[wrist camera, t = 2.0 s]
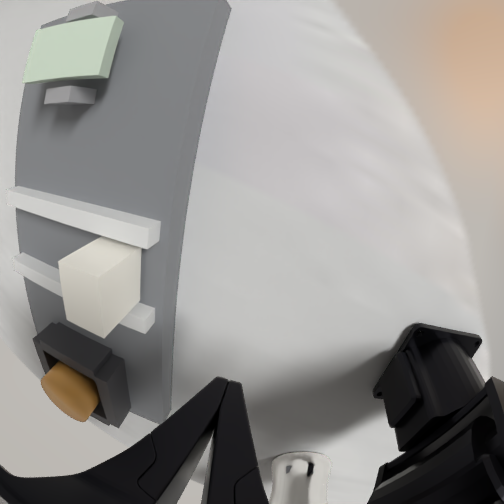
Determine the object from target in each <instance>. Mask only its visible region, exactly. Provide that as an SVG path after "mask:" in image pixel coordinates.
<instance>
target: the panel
mask: <svg viewBox="0 0 504 504" xmlns="http://www.w3.org/2000/svg"><path fill="white" fill-rule="evenodd" d="M230 11H231V7H230V6H229V4H228V2H227V0H125V1H120V2H116V3H111V4H107V5H104V4H102V3H100V2H98V1H95V2H92V3H88V4H85V5H82V6H79V7H76V8H73V9H70V11H69V13H68V16H66V17H63V18H60V19H57V20H54V21H52V22H49V23H47V24H44V25H42V26H41V28H40V29H43V28H47V27H51V26H55V25H59V24H64V23H69V22H74V21H79V20H85V19H92V18H99V17H107V16H117V17H119V18H120V19H121V20H122V21H123V22H124V24H123V27H122V30H121V33H120V37H119V40H118V43H117V47H116V50H115V54H114V57H113V61H112V65H111V69H110V73H109V77H108V78H97V79H77V80H65V81H55V82H46V83H39V84H26V83H25V87H24V92H23V98H22V104H21V110H20V117H19V125H18V135H17V146H16V165H15V187H13V188H10V189H6V204H7V205H10V206H13V207H16V220H17V232H18V242H19V250H20V254H19V255H17V256H15V257H13V258H12V261H13V267H14V271H16V272H17V273H19V274H21V275H23V276H24V281H25V286H26V291H27V296H28V300H29V304H30V309H31V313H32V316H33V320H34V324H35V327H36V331H37V334H38V335H37V336H35V337H34V338H33V341H34V344H35V347H36V350H37V353H38V356H39V359H40V361H41V364H42V367H43V369H44V372H45V374H47V373H48V372H49V371H50V370H51V368H52V367H53V366H54V365H55V364H56V363H57V362H58V361H59V360H60V361H61V362H63V363H65V364H66V365H68V366H70V367H71V368H73V369H75V370H77V371H78V372H80V373H82V374H84V375H85V376H87V377H89V378H91V379H93V380H94V382H95V383H96V385H97V389H98V392H99V396H100V399H101V401H100V402H99V403H98V405H97V406H96V408H95V409H94V410H93V412H92V413H91V415H90V416H92V417H94V418H95V419H97V420H99V421H101V422H103V423H105V424H107V425H110V424H111V425H113V426H115V427H117V428H119V427H120V425H121V424H122V422H123V420H124V419H125V417H126V415H127V414H128V412H129V411H130V412H132V413H134V414H137V415H139V416H141V417H143V418H146V419H148V420H151V421H153V422H155V423H158V424H162V423H163V422H164V421H165V420H166V419H167V416H168V414H169V412H170V410H171V388H172V360H173V341H174V326H175V312H176V300H177V289H178V279H179V269H180V260H181V251H182V243H183V235H184V228H185V220H186V213H187V206H188V200H189V193H190V187H191V181H192V175H193V169H194V163H195V158H196V152H197V147H198V142H199V136H200V131H201V126H202V122H203V117H204V112H205V107H206V103H207V98H208V94H209V90H210V85H211V81H212V77H213V73H214V69H215V65H216V61H217V57H218V53H219V50H220V46H221V42H222V39H223V35H224V32H225V28H226V25H227V21H228V18H229V15H230ZM101 236H105V237H108V238H111V239H114V240H118V241H121V242H124V243H127V244H131V245H134V246H137V247H141V248H142V251H141V276H140V301H139V302H138V303H137V304H136V305H135V306H134V307H133V308H132V309H131V311H130V312H129V313H128V314H127V315H126V316H125V317H124V318H123V319H122V320H121V321H120V322H119V323H118V324H117V325H116V326H115V328H114V329H113V330H112V331H111V332H110V333H109V334H108V335H107V336H106V337H105V338H102V337H100V336H98V335H96V334H94V333H92V332H90V331H88V330H86V329H84V328H82V327H80V326H78V325H76V324H74V323H72V322H70V321H68V320H67V318H66V313H65V307H64V302H63V295H62V289H61V281H60V274H59V265H58V261H59V260H61V259H63V258H64V257H66V256H68V255H69V254H71V253H73V252H75V251H76V250H78V249H80V248H82V247H83V246H85V245H87V244H89V243H90V242H92V241H94V240H96V239H98V238H100V237H101Z"/></svg>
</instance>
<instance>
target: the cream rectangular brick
mask: <svg viewBox="0 0 504 504" xmlns="http://www.w3.org/2000/svg"><path fill="white" fill-rule="evenodd" d="M141 251H142V248H141V247H137V246H134V245H131V244H127V243H124V242H121V241H118V240H114V239H111V238H108V237H105V236H101V237H100V238H98V239H96V240H94V241H92V242H90V243H89V244H87V245H85V246H83V247H82V248H80V249H78V250H76V251H75V252H73V253H71V254H69V255H68V256H66V257H64V258H63V259H61V260H59V261H58V265H59V274H60V281H61V289H62V295H63V302H64V307H65V313H66V318H67V320H68V321H70V322H72V323H74V324H76V325H78V326H80V327H82V328H84V329H86V330H88V331H90V332H92V333H94V334H96V335H98V336H100V337H102V338H105V337H106V336H107V335H108V334H109V333H110V332H111V331H112V330H113V329H114V328H115V326H116V325H117V324H118V323H119V322H120V321H121V320H122V319H123V318H124V317H125V316H126V315H127V314H128V313H129V312H130V311H131V309H132V308H133V307H134V306H135V305H136V304H137V303H138V302H139V301H140V276H141Z"/></svg>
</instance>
